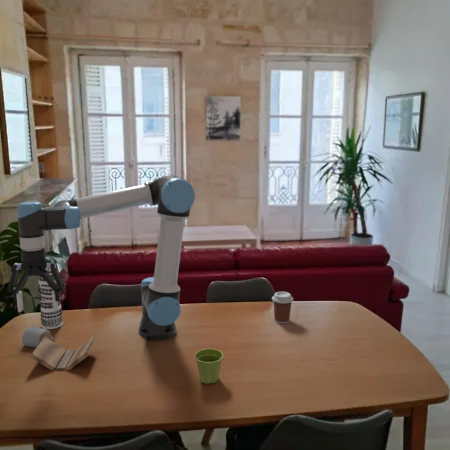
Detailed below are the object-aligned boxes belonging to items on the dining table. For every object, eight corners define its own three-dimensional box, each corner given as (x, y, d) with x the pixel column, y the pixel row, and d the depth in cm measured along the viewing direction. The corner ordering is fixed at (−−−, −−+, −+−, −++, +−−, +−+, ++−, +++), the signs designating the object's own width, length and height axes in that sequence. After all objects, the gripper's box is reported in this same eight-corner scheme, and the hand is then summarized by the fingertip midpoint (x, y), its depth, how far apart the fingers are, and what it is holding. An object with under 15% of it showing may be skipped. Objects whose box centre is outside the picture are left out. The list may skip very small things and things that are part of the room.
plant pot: (213, 390, 142) (213, 365, 140) (189, 381, 147) (188, 357, 145) (228, 377, 150) (228, 353, 148) (205, 369, 155) (205, 346, 153)
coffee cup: (267, 321, 194) (268, 295, 192) (276, 314, 202) (277, 289, 199) (287, 326, 189) (288, 299, 187) (295, 319, 197) (296, 293, 195)
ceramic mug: (41, 352, 166) (39, 333, 165) (22, 349, 168) (21, 330, 167) (59, 340, 176) (58, 322, 175) (41, 338, 178) (40, 319, 177)
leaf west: (97, 337, 164) (94, 335, 164) (89, 355, 152) (86, 352, 151) (78, 352, 165) (76, 349, 165) (68, 370, 152) (65, 367, 152)
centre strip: (75, 353, 165) (74, 349, 165) (65, 372, 152) (64, 367, 152) (67, 353, 165) (67, 350, 164) (56, 372, 152) (56, 368, 152)
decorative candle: (68, 323, 192) (64, 267, 187) (50, 331, 184) (45, 272, 179) (54, 318, 197) (50, 263, 192) (36, 326, 189) (31, 269, 184)
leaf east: (63, 352, 165) (65, 350, 164) (52, 371, 152) (55, 368, 152) (42, 339, 163) (44, 336, 163) (29, 356, 150) (32, 353, 150)
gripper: (71, 245, 154) (76, 305, 159) (1, 246, 153) (7, 306, 157) (65, 250, 147) (70, 313, 151) (-9, 251, 146) (-2, 315, 150)
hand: (38, 310), depth 154 cm, fingers open, 11 cm apart
